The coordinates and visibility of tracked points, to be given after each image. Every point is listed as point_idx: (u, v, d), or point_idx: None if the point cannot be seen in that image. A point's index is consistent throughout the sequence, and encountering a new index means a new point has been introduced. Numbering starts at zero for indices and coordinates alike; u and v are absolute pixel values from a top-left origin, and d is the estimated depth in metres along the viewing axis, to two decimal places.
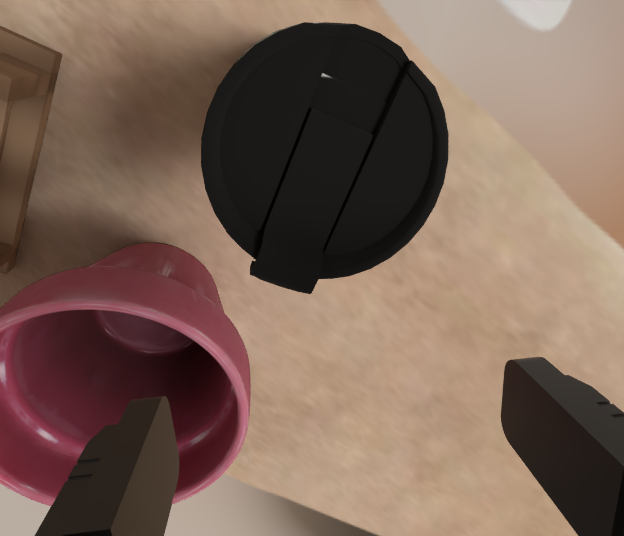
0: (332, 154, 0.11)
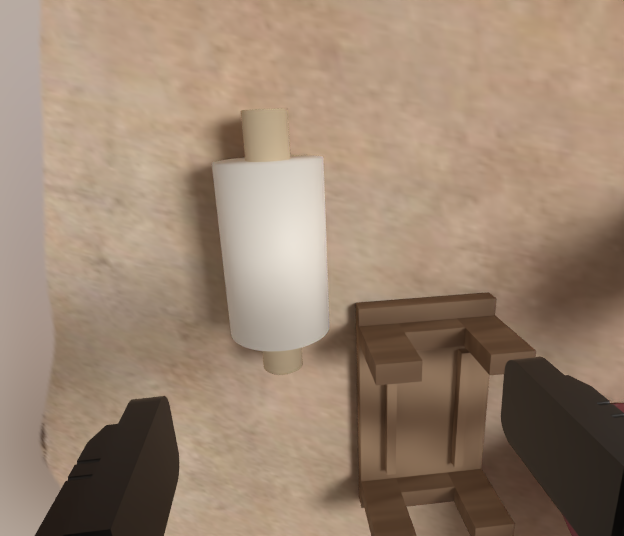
0: None
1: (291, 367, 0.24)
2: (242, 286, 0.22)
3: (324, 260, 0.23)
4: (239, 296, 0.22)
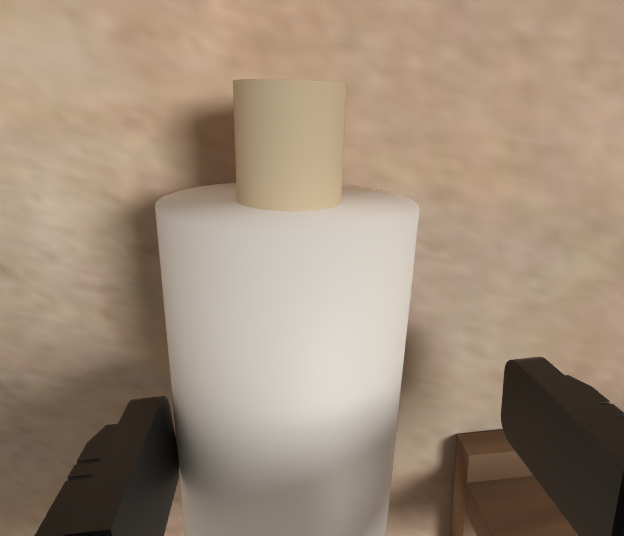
0: None
1: None
2: None
3: (300, 484, 0.09)
4: None
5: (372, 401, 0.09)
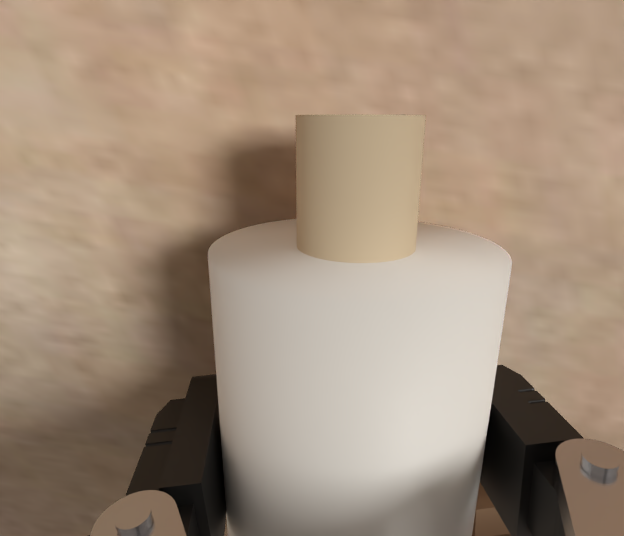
0: None
1: None
2: None
3: None
4: None
5: None
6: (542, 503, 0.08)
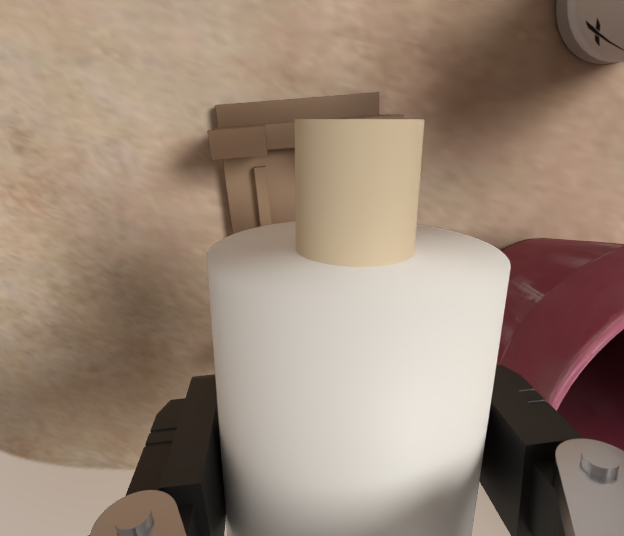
0: None
1: None
2: None
3: None
4: None
5: None
6: (542, 503, 0.08)
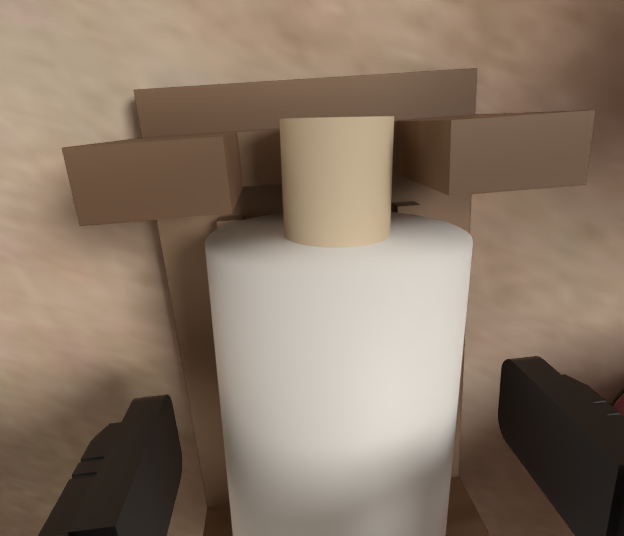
0: None
1: None
2: (235, 503, 0.10)
3: (435, 493, 0.09)
4: (233, 514, 0.10)
5: None
6: None
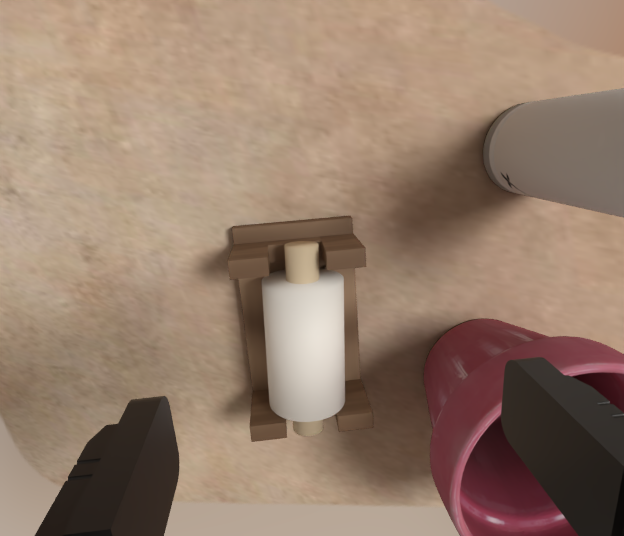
0: None
1: (309, 431, 0.32)
2: (271, 368, 0.30)
3: (335, 359, 0.29)
4: (270, 374, 0.30)
5: None
6: None
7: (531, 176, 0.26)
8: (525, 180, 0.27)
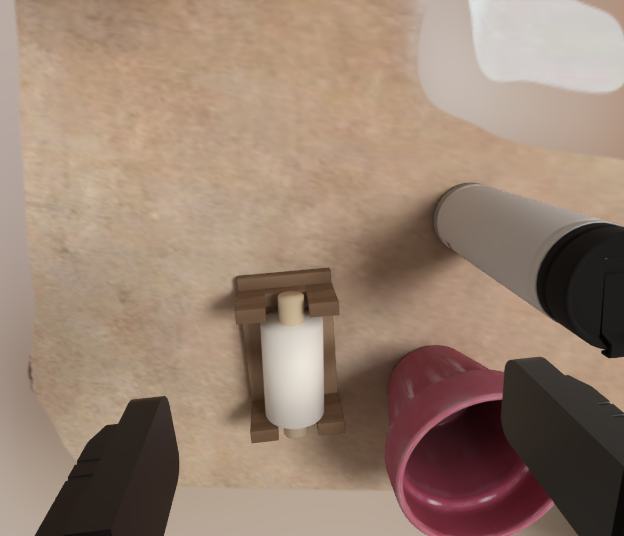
0: (621, 287, 0.23)
1: (296, 435, 0.41)
2: (267, 388, 0.39)
3: (316, 382, 0.39)
4: (266, 392, 0.39)
5: (323, 359, 0.39)
6: None
7: (462, 250, 0.35)
8: (459, 251, 0.36)
